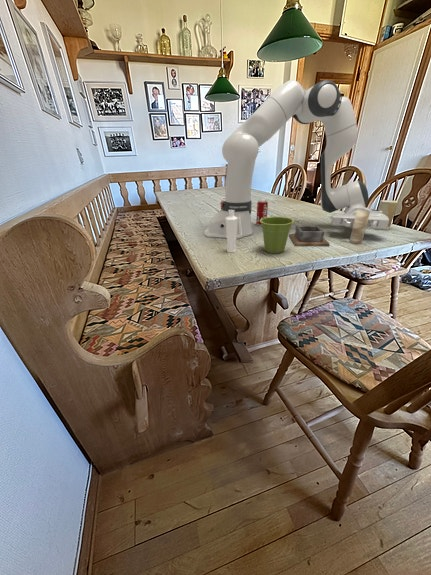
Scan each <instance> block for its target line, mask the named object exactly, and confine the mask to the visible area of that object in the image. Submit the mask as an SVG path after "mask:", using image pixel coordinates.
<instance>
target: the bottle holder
mask: <svg viewBox="0 0 431 575" xmlns="http://www.w3.org/2000/svg"><path fill="white" fill-rule="evenodd" d="M288 238H289V239H290V241H291V242H292V244H293V246H294V247H330V242H329V241H328V240H327V239H326V238H325V231H324V230H323V229H322V227H320V226H319V225H296V226H295V231H294V233H289V234H288Z"/></svg>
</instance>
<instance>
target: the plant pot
mask: <svg viewBox="0 0 431 575" xmlns="http://www.w3.org/2000/svg"><path fill="white" fill-rule="evenodd" d="M260 222H261V224H262V226H261V229H262V235H263V236H262V237H263V244H264V245H263V246H264V251H265V252H268V253H271V254H280V253H281V252H282V253H283V252H284V251H285V249H286V246H287V242H288V238H289V234H290V231H291V228H292V225H293V224H294V222H295V220H294V219H293V218H290V217H285V216H267V218H263V219H261V220H260Z"/></svg>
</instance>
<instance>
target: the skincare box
mask: <svg viewBox="0 0 431 575" xmlns="http://www.w3.org/2000/svg"><path fill="white" fill-rule="evenodd" d="M398 205H399V202H398V201H397V200H386V199H385V200H384V199H380V201H379V205H378V208H377V210H379V211H382V214H385V215H386V216H387V217H388V218H389V222H388V226H387V228H374V229H373V230H381V231H382V230H384V231H389V230H390V229H391V228H390V227H391V224H392V223H393V219H394V216H395V213H396V212H397V211H396V210H397V207H398Z"/></svg>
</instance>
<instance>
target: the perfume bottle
mask: <svg viewBox="0 0 431 575" xmlns="http://www.w3.org/2000/svg"><path fill="white" fill-rule="evenodd" d="M234 211H235V210H229V216H228V217H226V218H225V220H226V234H227V238H226V252H227V253H236V251H237V247H236V245H237V239H236V236H237V224H238V218H237V217H235V216H234Z"/></svg>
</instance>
